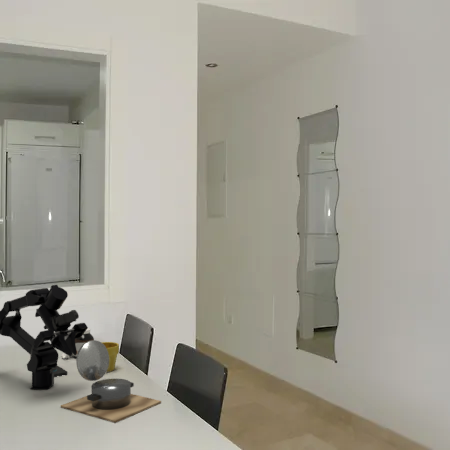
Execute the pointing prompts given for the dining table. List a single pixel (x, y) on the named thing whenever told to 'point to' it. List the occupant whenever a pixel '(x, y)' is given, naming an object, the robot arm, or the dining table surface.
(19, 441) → the dining table surface
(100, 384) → the cooker
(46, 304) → the robot arm
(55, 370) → the smart home device
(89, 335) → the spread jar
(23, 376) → the dining table surface
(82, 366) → the lid
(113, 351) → the plant pot
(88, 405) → the board
